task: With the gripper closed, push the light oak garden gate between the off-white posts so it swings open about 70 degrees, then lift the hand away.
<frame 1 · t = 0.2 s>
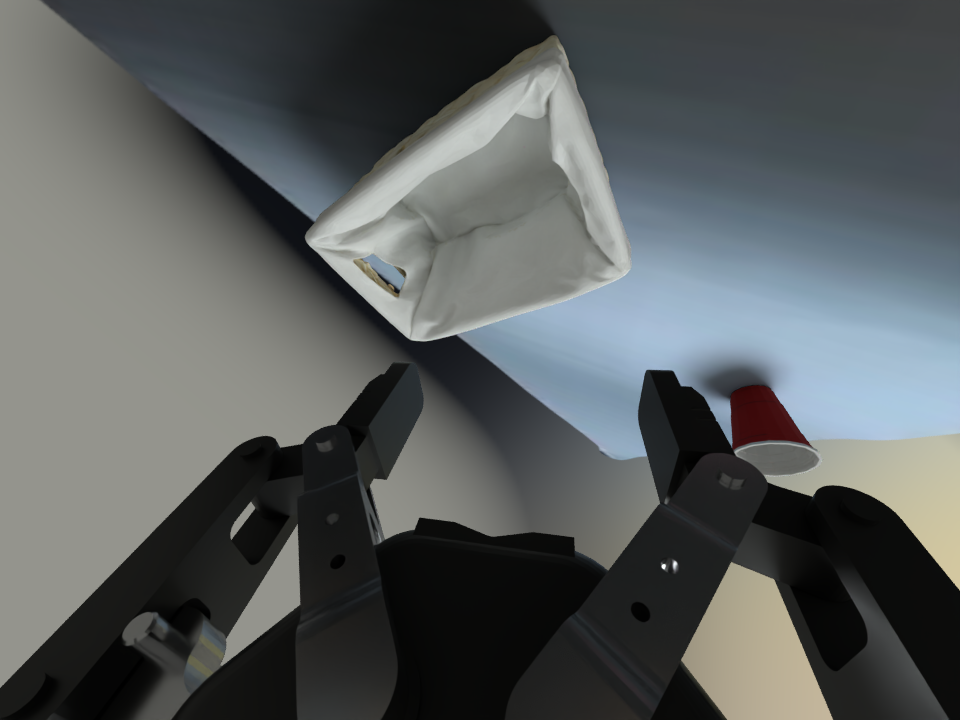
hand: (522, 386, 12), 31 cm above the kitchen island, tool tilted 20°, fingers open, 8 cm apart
storage basket: (486, 172, 37), on the kitchen island
plastic cup: (749, 393, 58), on the kitchen island
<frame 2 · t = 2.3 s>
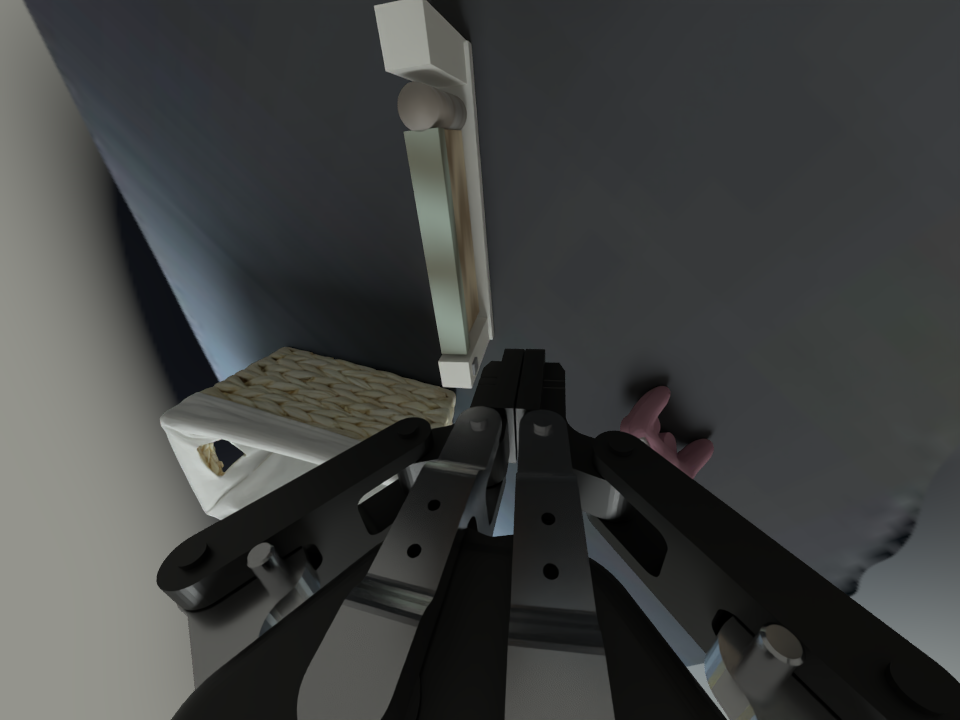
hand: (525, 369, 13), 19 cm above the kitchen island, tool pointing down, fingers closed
storage basket: (370, 405, 44), on the kitchen island
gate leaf: (451, 231, 25), point 5 cm above the kitchen island, hinge at 0.0°
video game controller: (660, 422, 37), on the kitchen island
gate posts: (456, 115, 26), on the kitchen island
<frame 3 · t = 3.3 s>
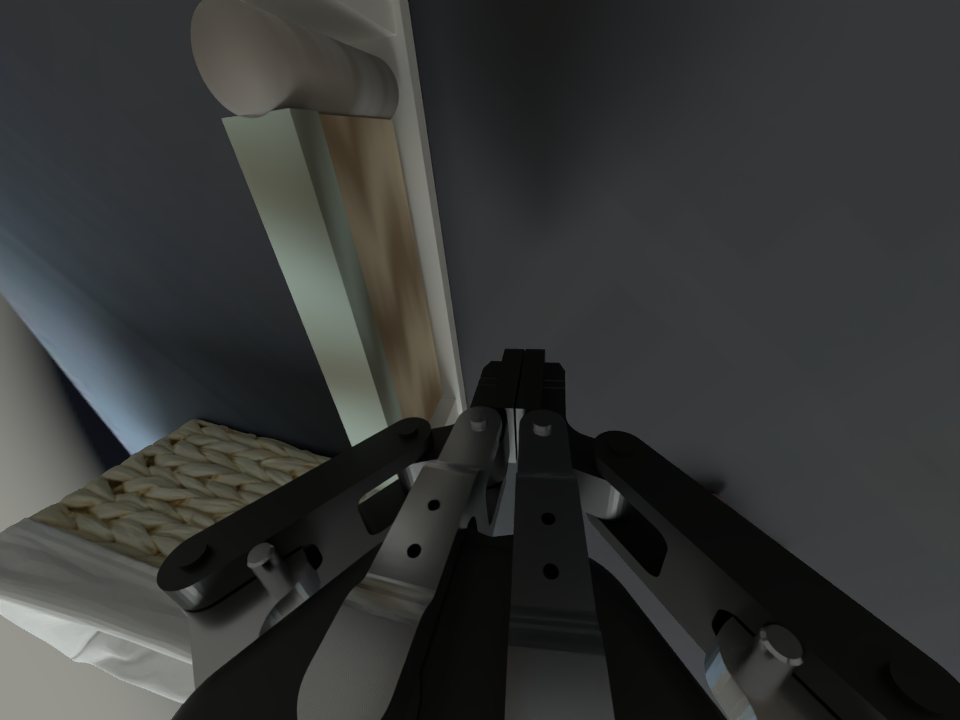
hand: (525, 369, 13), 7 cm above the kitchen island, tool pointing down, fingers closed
storage basket: (314, 488, 34), on the kitchen island
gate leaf: (377, 294, 15), point 5 cm above the kitchen island, hinge at 0.0°
gate posts: (388, 94, 15), on the kitchen island
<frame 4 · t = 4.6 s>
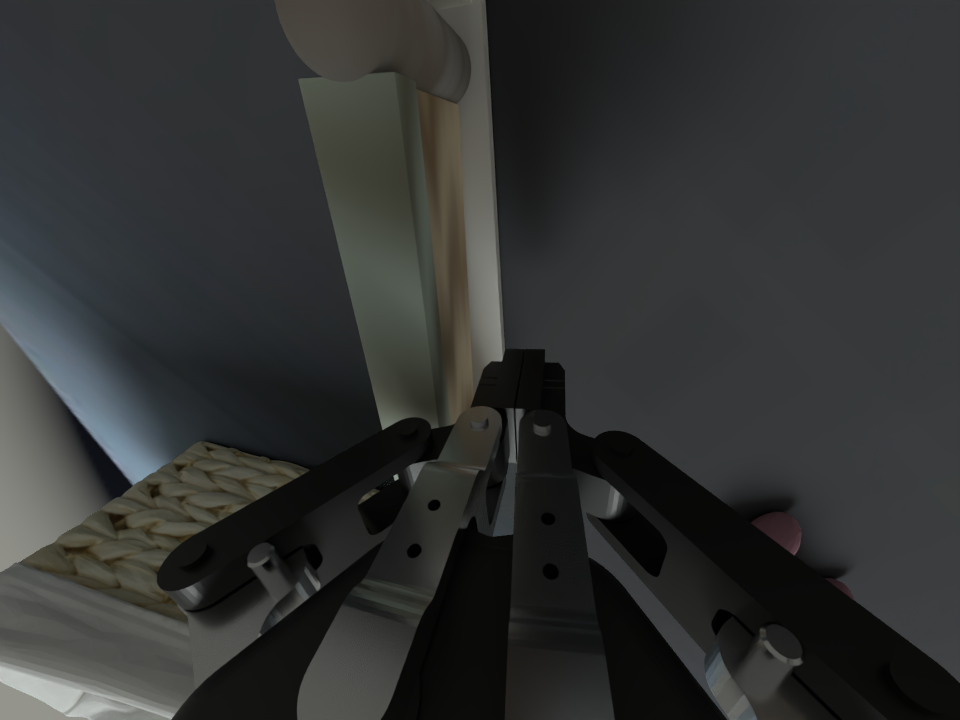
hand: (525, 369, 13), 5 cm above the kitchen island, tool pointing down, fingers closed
storage basket: (328, 512, 32), on the kitchen island
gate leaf: (431, 304, 13), point 5 cm above the kitchen island, hinge at -3.1°, touching gripper
video game controller: (764, 552, 24), on the kitchen island
gate posts: (450, 76, 13), on the kitchen island
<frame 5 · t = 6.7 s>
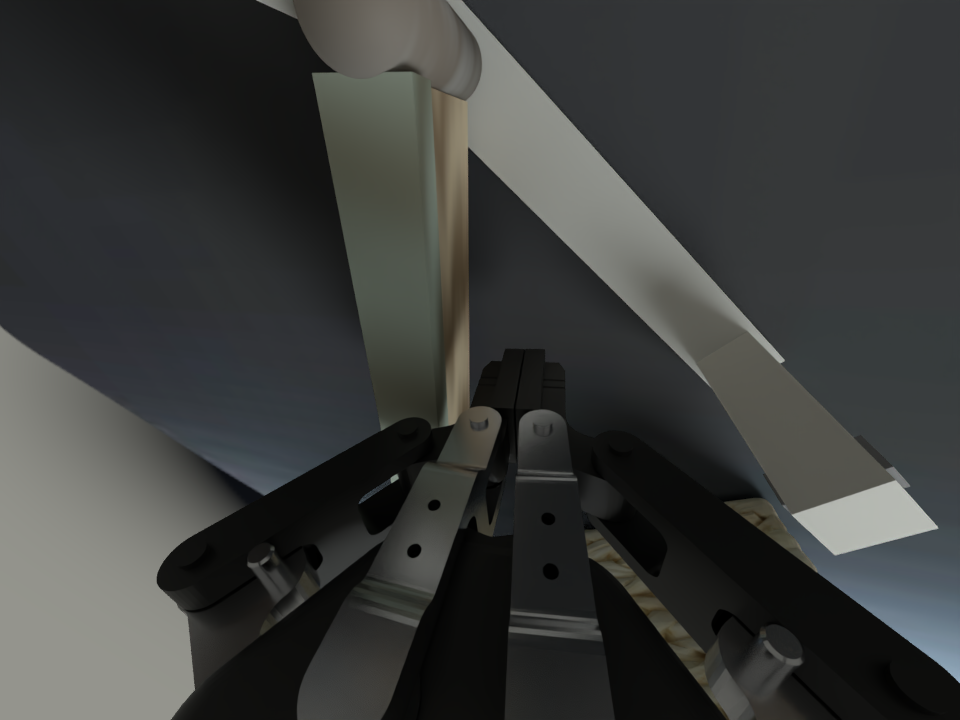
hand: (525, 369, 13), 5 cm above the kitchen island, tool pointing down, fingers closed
storage basket: (629, 566, 29), on the kitchen island
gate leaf: (433, 302, 13), point 5 cm above the kitchen island, hinge at -50.7°, touching gripper
gate posts: (459, 71, 13), on the kitchen island
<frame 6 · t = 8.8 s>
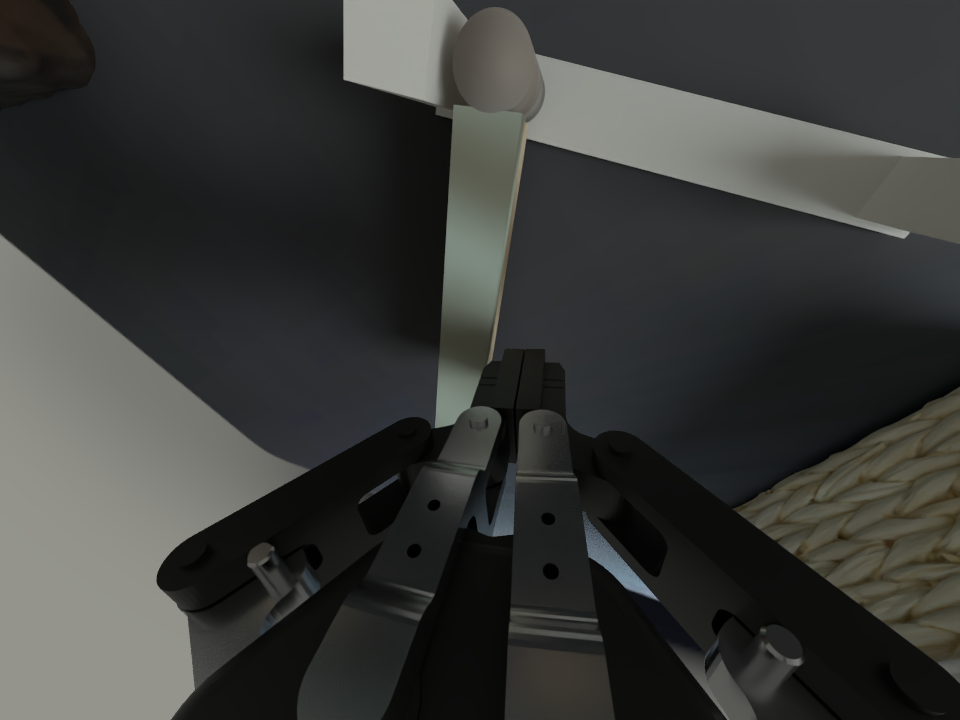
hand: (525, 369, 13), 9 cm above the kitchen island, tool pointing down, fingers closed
storage basket: (892, 496, 24), on the kitchen island
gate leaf: (484, 277, 16), point 5 cm above the kitchen island, hinge at -83.9°
gate posts: (522, 98, 17), on the kitchen island
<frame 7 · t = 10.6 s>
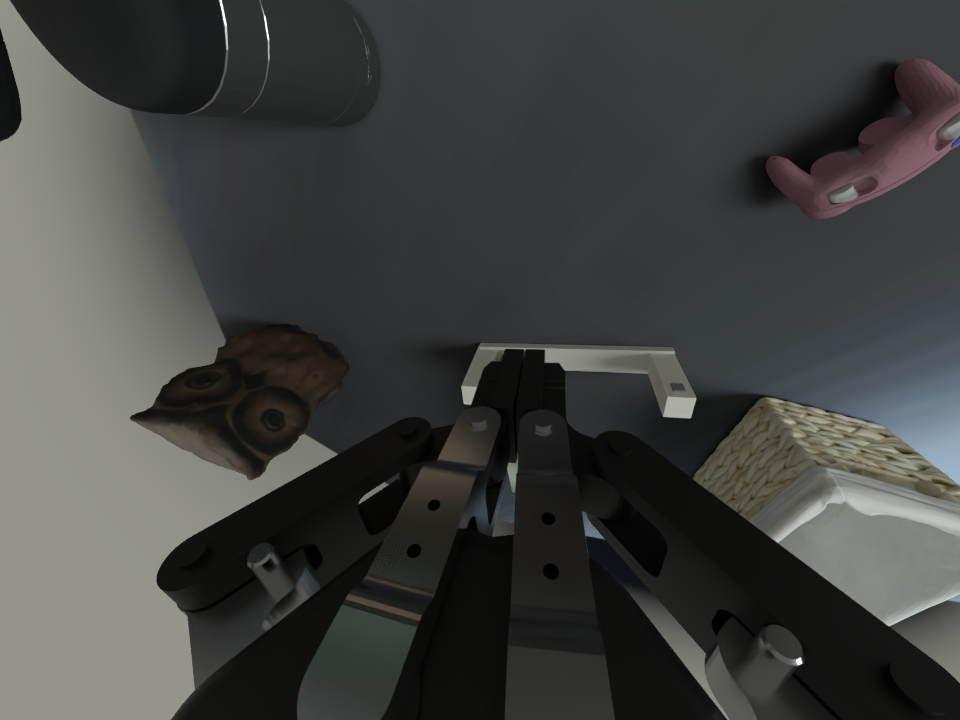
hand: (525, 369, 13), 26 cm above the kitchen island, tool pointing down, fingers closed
storage basket: (759, 467, 45), on the kitchen island
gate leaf: (514, 424, 43), point 5 cm above the kitchen island, hinge at -83.9°
video game controller: (839, 145, 28), on the kitchen island
gate posts: (511, 353, 44), on the kitchen island
owl: (305, 358, 52), on the kitchen island
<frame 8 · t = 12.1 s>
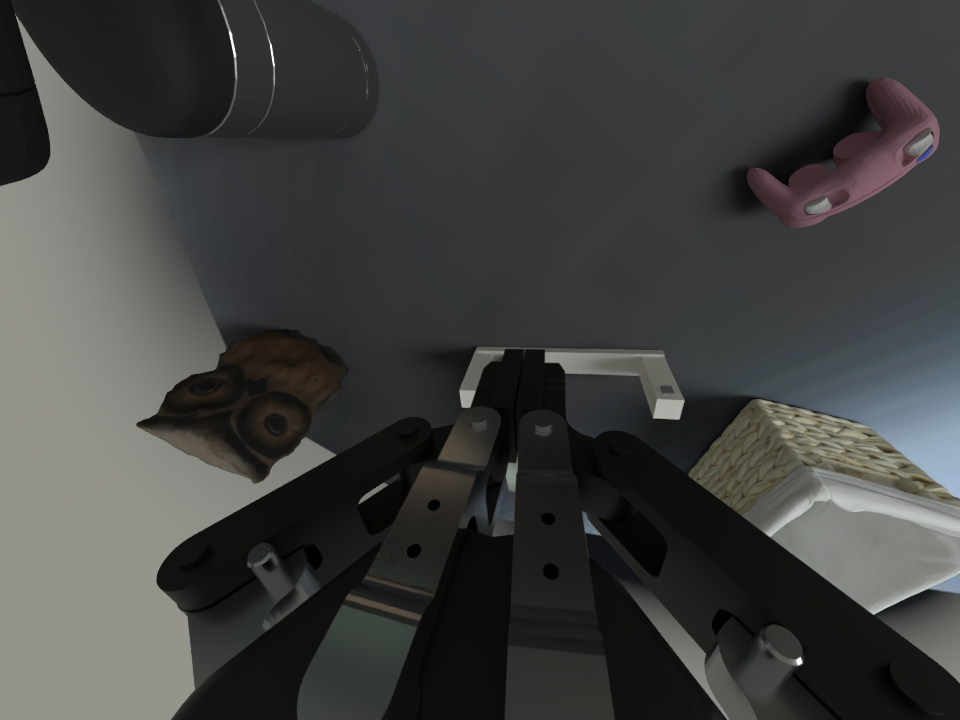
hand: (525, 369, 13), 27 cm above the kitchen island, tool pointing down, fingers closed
storage basket: (750, 466, 47), on the kitchen island
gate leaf: (510, 425, 45), point 5 cm above the kitchen island, hinge at -83.9°
video game controller: (815, 157, 29), on the kitchen island
gate posts: (507, 357, 45), on the kitchen island
owl: (304, 362, 53), on the kitchen island
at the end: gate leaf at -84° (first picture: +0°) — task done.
